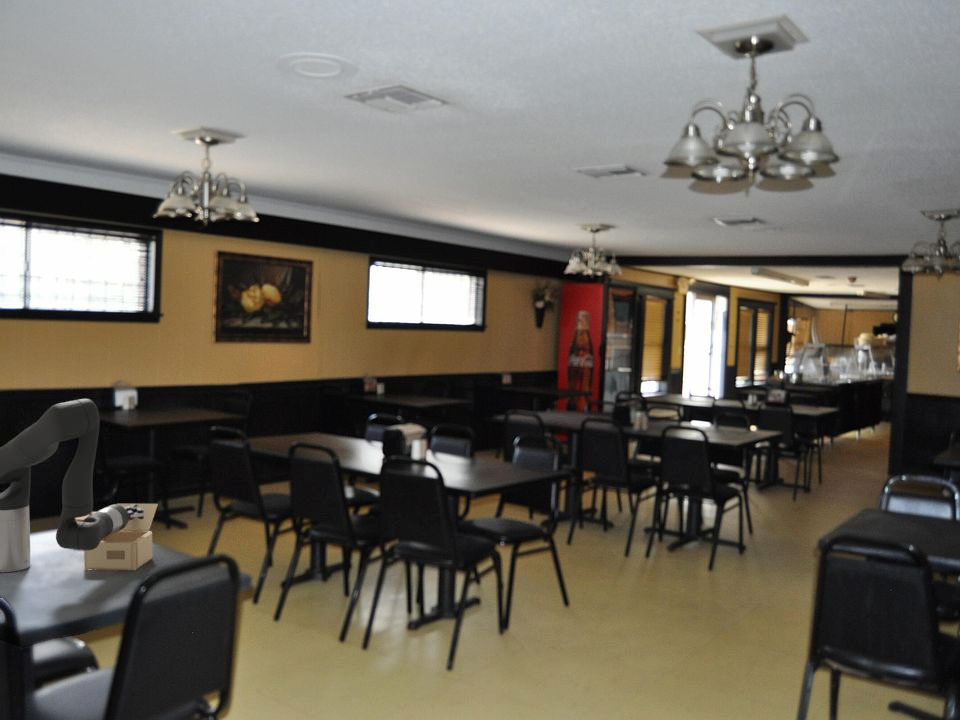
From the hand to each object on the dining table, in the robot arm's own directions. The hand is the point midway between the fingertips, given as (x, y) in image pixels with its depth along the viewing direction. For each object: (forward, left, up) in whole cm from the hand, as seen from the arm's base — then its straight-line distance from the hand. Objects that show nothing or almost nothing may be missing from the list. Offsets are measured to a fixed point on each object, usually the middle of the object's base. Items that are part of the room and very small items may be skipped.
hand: (135, 507), depth 254 cm
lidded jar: (-25, +2, -14) cm, 28 cm away
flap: (+2, -4, -5) cm, 7 cm away
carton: (+5, -10, -14) cm, 18 cm away
